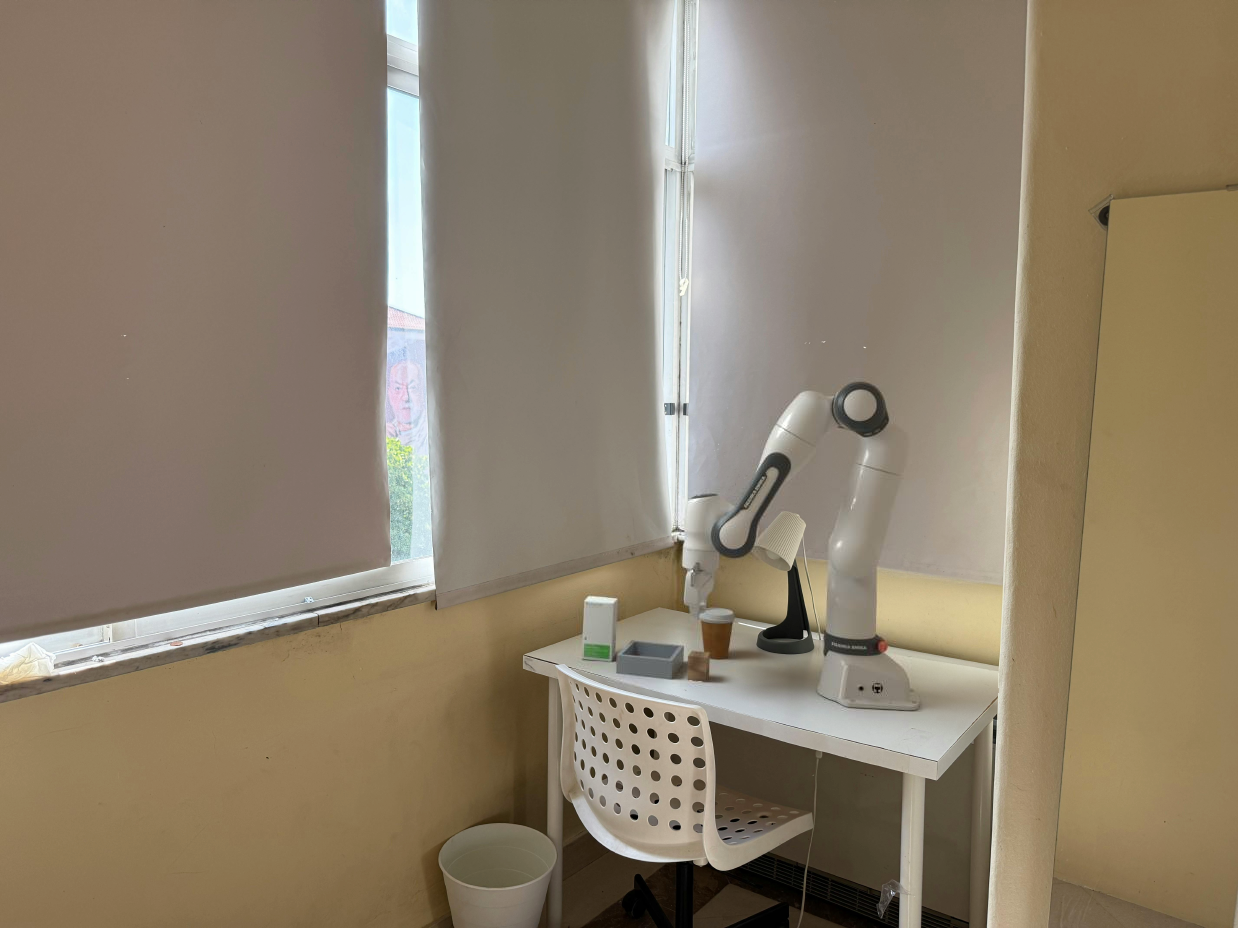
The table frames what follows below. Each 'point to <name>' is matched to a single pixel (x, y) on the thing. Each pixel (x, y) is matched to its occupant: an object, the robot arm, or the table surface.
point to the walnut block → (698, 666)
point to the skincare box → (599, 628)
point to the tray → (650, 659)
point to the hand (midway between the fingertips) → (698, 616)
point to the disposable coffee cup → (717, 631)
